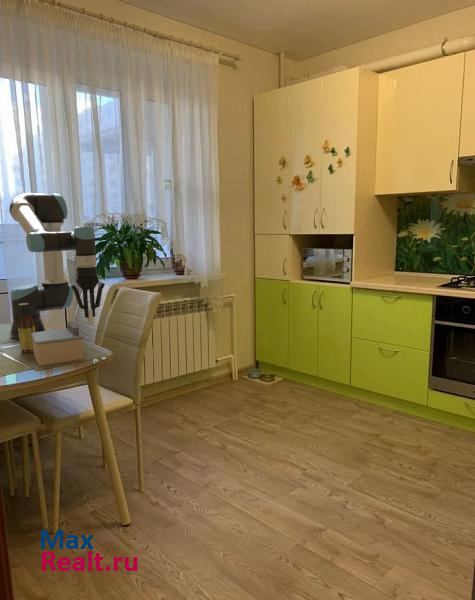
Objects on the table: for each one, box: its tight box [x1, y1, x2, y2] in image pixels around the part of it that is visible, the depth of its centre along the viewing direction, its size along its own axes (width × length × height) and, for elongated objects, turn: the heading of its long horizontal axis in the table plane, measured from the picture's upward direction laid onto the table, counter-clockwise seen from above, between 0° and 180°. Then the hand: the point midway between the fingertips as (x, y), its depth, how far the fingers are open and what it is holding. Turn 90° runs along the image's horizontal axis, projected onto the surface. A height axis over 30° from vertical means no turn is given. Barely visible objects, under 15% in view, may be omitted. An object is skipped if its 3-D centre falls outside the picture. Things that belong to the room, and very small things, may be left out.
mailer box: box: [32, 338, 85, 367], centre depth 182 cm, size 16×16×8 cm
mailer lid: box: [31, 321, 85, 344], centre depth 181 cm, size 17×17×4 cm
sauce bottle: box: [18, 303, 35, 354], centre depth 190 cm, size 7×6×20 cm
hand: (90, 325), depth 187 cm, fingers closed
